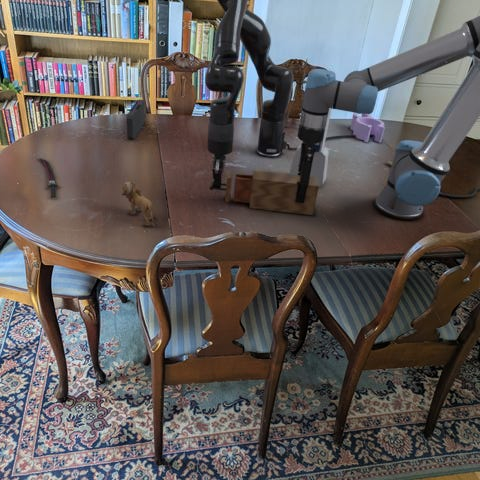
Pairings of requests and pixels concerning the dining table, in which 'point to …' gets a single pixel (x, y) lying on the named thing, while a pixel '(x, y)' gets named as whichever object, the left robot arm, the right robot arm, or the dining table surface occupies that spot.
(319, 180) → the electronic device
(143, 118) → the handheld gaming console
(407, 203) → the right robot arm
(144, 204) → the lion figurine
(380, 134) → the clip
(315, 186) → the cabinet
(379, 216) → the dining table surface
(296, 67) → the miniature windmill
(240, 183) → the drawer
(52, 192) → the sword
